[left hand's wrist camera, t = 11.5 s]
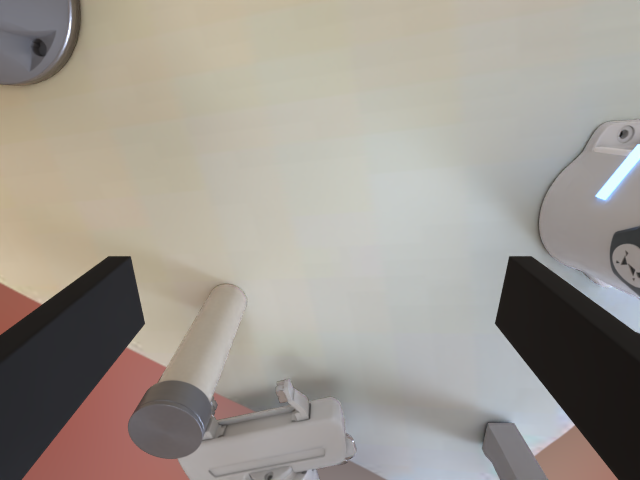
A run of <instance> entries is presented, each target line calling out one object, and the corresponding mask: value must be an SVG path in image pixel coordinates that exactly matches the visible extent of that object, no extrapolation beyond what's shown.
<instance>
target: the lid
mask: <svg viewBox="0 0 640 480" xmlns="http://www.w3.org/2000/svg"><path fill="white" fill-rule="evenodd" d="M211 412H212V408H211V403H210V401H209V399H208V397H207V396H206V395H205V393H204V392H202V391H201V390H200V389H199V388H197V387H196V386H194V385H192V384H190V383H187V382H183V381H177V380H167V381H162V382H159V383H157V384H155V385H153V386H152V387H150V388H149V389H148V390H147V392H146V393H145V395H144V396H143V398H142V400H141V401H140V403H139V405H138V406H137V408H136V410H135V411H134V413H133V414H132V416H131V418H130V420H129V423H128V431H129V435H130V437H131V439H132V441H133V442H134V443H135V444H136V445H137V446H138V447H139V448H140V449H141V450H143V451H144V452H146V453H148V454H150V455H153V456H156V457H160V458H166V459H176V458H182V457H185V456H188V455H190V454H192V453H193V452H195V451H196V450H197V449H198V448H199V446H200V444H201V442H202V440H203V437H204V434H205V431H206V428H207V425H208V423H209V420H210V417H211Z"/></svg>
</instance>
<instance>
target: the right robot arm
mask: <svg viewBox="0 0 640 480" xmlns="http://www.w3.org/2000/svg"><path fill="white" fill-rule="evenodd" d="M621 131H623V134H622V136H621V137H619V135H620V132H621ZM539 231H540V236H541V239H542V242H543V244H544V246H545V248H546V250H547V251H548V252H549V254H550V255H551V256H552V257H553V258H554V259H556V260H557V261H559V262H560V263H562V264H564V265H566V266H569V267H572V268H575V269H577V270H580V271H582V272H584V273H585V274H586V275H587V276H588V277H589V278H590V279H591V280H592V281H593V282H595V283H597V284H599V285H601V286H603V287H612V286H613V287H615V288H617V289H619V290H621V291H623V292H625V293H627V294H629V295H631V296H634V297H636V298H638V299H640V119H636V120H623V121H611V122H606V123H603V124H602V125H600V126H599V127H598V128H597V129H596V131H595V132H594V133H593V135H592V136H591V138H590V140H589V142H588V143H587V145H586V147H585V149H584V150H583V152H582V153H581V154H580V155H579V156H578V157H577V158H576V159H575V160H574V161H573V162H572V163H571V164H569V165H568V166H567V167H566V168H565V169H564V170H563V171H562V172H561V173H560V175H559V176H558V177H557V178H556V179H555V181H554V182H553V184H552V185H551V187H550V188H549V190H548V192H547V194H546V196H545V198H544V201H543V204H542V207H541V211H540V217H539ZM276 394H277V396H278V399H279V402H280V403H283V402H287V403H289V404H290V405H288V406H283V407H278V408H273V409H268V410H264V411H259V412H254V413H249V414H245V415H240V416H235V417H230V418H225V419H221V420H216V419H215V417H214V414H215V410H216V408H217V403H216V401H215V400H214V397H212V400H211V408H212V412H211V417H210V420H209V423H208V425H207V428H206V431H205V434H204V437H203V440H202V442H201V444H200V446H199V448H198V449H197V450H196V451H195V452H193V453H192V454H190V455H188V456H185V457H182V458H178V461H179V463H180V465H181V467H182V468H183V470H184V472H185V473H186V475H187V476H188V478H189V479H190V480H320V478H319V474H318V471H317V469H321V468H325V467H329V466H333V465H342V464H345V463H347V462H348V459H351V458H352V457H353V456H355V454H356V446H355V443H354V440H353V438H352V437H351V436H350V435H349V434H347V433H346V432H345V421H344V415H343V410H342V406H341V403H340V401H338V400H337V399H335V398H333V397H326V398H321V399H316V400H312V401H308V398H307V396H305V395H304V394H302V393H301V392H299V391H298V390H296V389H294V388H293V386H292V383H291V381H290V379H286V380H282V381H278V382H277V386H276Z"/></svg>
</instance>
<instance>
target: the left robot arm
mask: <svg viewBox="0 0 640 480" xmlns="http://www.w3.org/2000/svg"><path fill="white" fill-rule="evenodd" d="M79 27H80V3H79V0H0V84H3V85H29V84H34V83H38V82H41V81H43V80H46V79H48V78H49V77H51V76H53V75H54V74H55V73H57V72H58V71H59V70H60V69H61V68H62V67H63V66H64V65H65V63H66V62H67V61H68V59H69V58H70V56H71V54H72V52H73V50H74V48H75V45H76V42H77V39H78V34H79ZM144 324H145V321H144V317H143V312H142V307H141V303H140V298H139V293H138V289H137V284H136V279H135V275H134V270H133V265H132V260H131V256H108V257H107V258H106V259H104V260H103V261H102V262H100V263H99V264H97V265H96V266H95V267H93V268H92V269H91V270H89V271H88V272H86V273H85V274H84V275H82V276H81V277H80V278H78V279H77V280H75V281H74V282H73V283H71V284H70V285H69V286H67V287H66V288H64V289H63V290H62V291H60V292H59V293H58V294H56V295H55V296H53V297H52V298H51V299H49V300H48V301H47V302H45V303H44V304H42V305H41V306H40V307H38V308H37V309H36V310H34V311H33V312H32V313H30V314H29V315H27V316H26V317H25V318H23V319H22V320H21V321H19V322H18V323H16V324H15V325H14V326H12V327H11V328H10V329H8V330H7V331H6V332H4V333H3V334H1V335H0V480H22V478H23V477H24V476H25V475H26V473H27V472H28V471H29V470H30V468H31V467H32V466H33V465H34V463H35V462H36V461H37V460H38V458H39V457H40V456H41V454H42V453H43V452H44V451H45V449H46V448H47V447H48V446H49V444H50V443H51V442H52V441H53V439H54V438H55V437H56V436H57V434H58V433H59V432H60V430H61V429H62V428H63V427H64V425H65V424H66V423H67V422H68V420H69V419H70V418H71V417H72V415H73V414H74V413H75V411H76V410H77V409H78V408H79V406H80V405H81V404H82V403H83V401H84V400H85V399H86V398H87V396H88V395H89V394H90V392H91V391H92V390H93V389H94V387H95V386H96V385H97V384H98V382H99V381H100V380H101V379H102V377H103V376H104V375H105V373H106V372H107V371H108V370H109V368H110V367H111V366H112V365H113V363H114V362H115V361H116V360H117V358H118V357H119V356H120V355H121V353H122V352H123V351H124V350H125V348H126V347H127V346H128V344H129V343H130V342H131V341H132V339H133V338H134V337H135V336H136V334H137V333H138V332H139V331H140V329H141V328H142V327H143V326H144ZM495 324H496V326H497V327H498V328H499V329H500V331H501V332H502V333H503V334H504V336H505V337H506V338H507V339H508V341H509V342H510V343H511V344H512V346H513V347H514V348H515V350H516V351H517V352H518V353H519V355H520V356H521V357H522V358H523V360H524V361H525V362H526V363H527V365H528V366H529V367H530V369H531V370H532V371H533V372H534V374H535V375H536V376H537V377H538V379H539V380H540V381H541V382H542V384H543V385H544V386H545V387H546V389H547V390H548V391H549V393H550V394H551V395H552V396H553V398H554V399H555V400H556V401H557V403H558V404H559V405H560V406H561V408H562V409H563V410H564V411H565V413H566V414H567V415H568V417H569V418H570V419H571V420H572V422H573V423H574V424H575V425H576V427H577V428H578V429H579V430H580V432H581V433H582V434H583V436H584V437H585V438H586V439H587V441H588V442H589V443H590V444H591V446H592V447H593V448H594V449H595V451H596V452H597V453H598V454H599V456H600V457H601V458H602V459H603V461H604V462H605V463H606V465H607V466H608V467H609V468H610V470H611V471H612V472H613V473H614V475H615V476H616V477H617V478H618V480H640V334H639V333H637V332H635V331H633V330H632V329H630V328H629V327H628V326H626V325H625V324H624V323H622V322H621V321H619V320H618V319H617V318H615V317H614V316H613V315H611V314H610V313H608V312H607V311H606V310H604V309H603V308H602V307H600V306H599V305H598V304H596V303H595V302H593V301H592V300H591V299H589V298H588V297H587V296H585V295H584V294H582V293H581V292H580V291H578V290H577V289H576V288H574V287H573V286H571V285H570V284H569V283H567V282H566V281H565V280H563V279H562V278H560V277H559V276H558V275H556V274H555V273H554V272H552V271H551V270H549V269H548V268H547V267H545V266H544V265H543V264H541V263H540V262H538V261H537V260H536V259H534V258H533V257H532V256H509V260H508V265H507V270H506V275H505V279H504V284H503V289H502V293H501V298H500V303H499V307H498V312H497V317H496V321H495Z"/></svg>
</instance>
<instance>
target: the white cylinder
mask: <svg viewBox="0 0 640 480" xmlns="http://www.w3.org/2000/svg"><path fill="white" fill-rule="evenodd" d="M246 306H247V298H246V296H245V294H244V292H243V291H242V290H241V289H240V288H238V287H237V286H234V285H231V284H222V285H219V286H217V287H215V288H214V289H213V290H212V291H211V293H210V294H209V296H208V298H207V300H206V301H205V303H204V305H203V306H202V308H201V310H200V311H199V313H198V315H197V317H196V318H195V320H194V322H193V323H192V325H191V327H190V328H189V330H188V332H187V334H186V335H185V337H184V339H183V340H182V342H181V344H180V345H179V347H178V349H177V351H176V352H175V354H174V356H173V357H172V359H171V361H170V362H169V364H168V366H167V368H166V369H165V371H164V373H163V374H162V376H161V378H160V379H159V381H158V383H159V382H162V381H167V380H177V381H183V382H187V383H190V384H192V385H194V386H196V387H197V388H199V389H200V390H201V391H202V392H204V393H205V395H206V396H207V397H208V399H209V401H210V403H211V400H212V397H213V395H214V392H215V389H216V387H217V384H218V381H219V379H220V376H221V373H222V370H223V368H224V365H225V362H226V360H227V357H228V354H229V352H230V349H231V346H232V344H233V341H234V338H235V335H236V333H237V330H238V327H239V325H240V322H241V319H242V317H243V314H244V311H245V309H246Z"/></svg>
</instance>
